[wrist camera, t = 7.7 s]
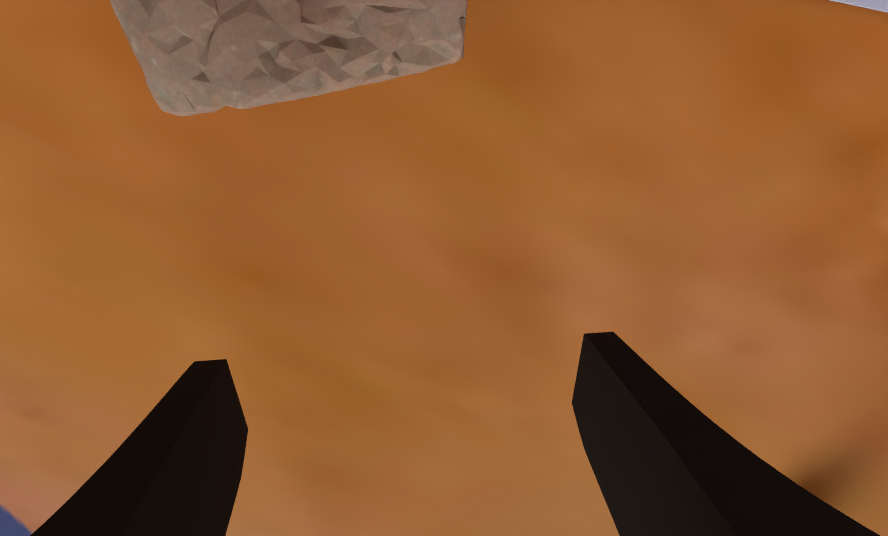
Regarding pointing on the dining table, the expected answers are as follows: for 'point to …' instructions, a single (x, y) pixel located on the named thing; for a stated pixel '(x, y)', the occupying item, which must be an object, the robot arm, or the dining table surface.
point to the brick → (283, 47)
